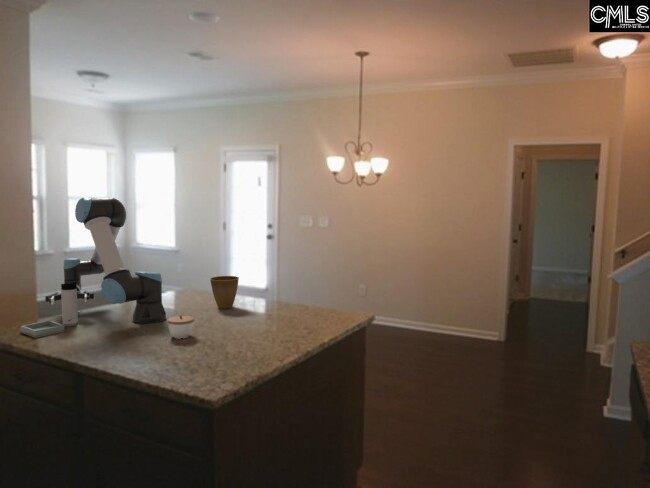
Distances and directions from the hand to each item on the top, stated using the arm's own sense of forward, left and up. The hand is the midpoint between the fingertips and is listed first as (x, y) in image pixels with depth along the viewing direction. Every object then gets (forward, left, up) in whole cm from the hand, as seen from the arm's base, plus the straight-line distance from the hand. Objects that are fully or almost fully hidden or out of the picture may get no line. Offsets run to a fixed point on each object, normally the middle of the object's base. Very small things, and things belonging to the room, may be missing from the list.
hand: (68, 300), depth 222 cm
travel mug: (-1, 0, -11) cm, 11 cm away
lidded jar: (-55, -19, -11) cm, 60 cm away
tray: (-3, +13, -11) cm, 18 cm away
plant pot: (-29, -68, -11) cm, 75 cm away
